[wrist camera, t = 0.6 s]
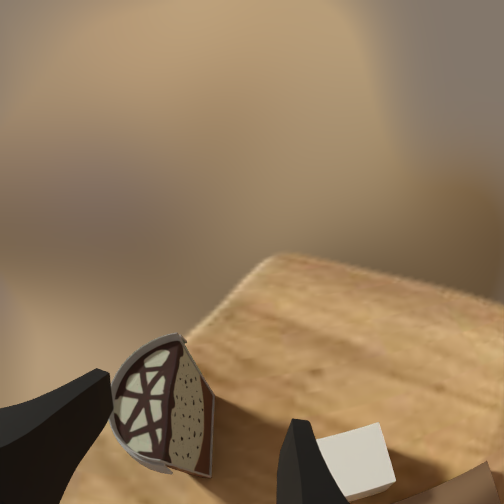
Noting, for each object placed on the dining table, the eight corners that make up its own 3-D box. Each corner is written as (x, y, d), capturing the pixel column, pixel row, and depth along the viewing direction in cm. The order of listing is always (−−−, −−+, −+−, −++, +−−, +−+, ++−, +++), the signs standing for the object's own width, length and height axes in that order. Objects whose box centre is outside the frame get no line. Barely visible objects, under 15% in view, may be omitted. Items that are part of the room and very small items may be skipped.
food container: (164, 386, 33) (118, 334, 27) (215, 383, 33) (178, 327, 27) (151, 488, 24) (88, 458, 18) (211, 492, 23) (159, 467, 17)
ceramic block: (384, 491, 19) (396, 480, 16) (327, 507, 20) (324, 501, 16) (371, 443, 23) (378, 421, 20) (317, 458, 24) (312, 440, 20)
